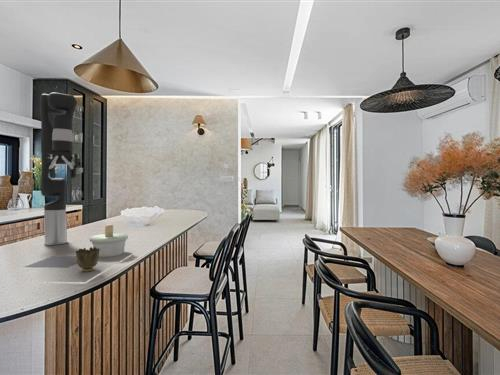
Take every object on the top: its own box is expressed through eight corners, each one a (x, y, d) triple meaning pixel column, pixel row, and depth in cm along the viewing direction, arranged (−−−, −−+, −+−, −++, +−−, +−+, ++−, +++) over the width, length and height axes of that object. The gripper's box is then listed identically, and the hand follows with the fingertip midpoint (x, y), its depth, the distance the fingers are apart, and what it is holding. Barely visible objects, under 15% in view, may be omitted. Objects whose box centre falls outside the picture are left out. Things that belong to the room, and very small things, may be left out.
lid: (100, 236, 138) (100, 222, 138) (133, 236, 138) (133, 222, 138) (82, 242, 123) (82, 227, 123) (118, 242, 123) (118, 227, 123)
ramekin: (90, 260, 122) (90, 243, 122) (93, 253, 134) (93, 237, 134) (126, 257, 127) (126, 240, 127) (125, 250, 139) (125, 235, 139)
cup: (75, 276, 101) (75, 252, 101) (76, 270, 108) (76, 248, 108) (99, 273, 105) (99, 250, 105) (99, 267, 111) (99, 246, 111)
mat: (53, 257, 126) (53, 255, 126) (91, 257, 126) (91, 256, 126) (24, 268, 110) (24, 266, 110) (67, 269, 110) (67, 267, 110)
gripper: (84, 141, 133) (84, 178, 134) (52, 141, 133) (52, 178, 134) (73, 139, 126) (74, 178, 126) (40, 139, 126) (40, 178, 126)
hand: (62, 178), depth 130 cm, fingers open, 8 cm apart
